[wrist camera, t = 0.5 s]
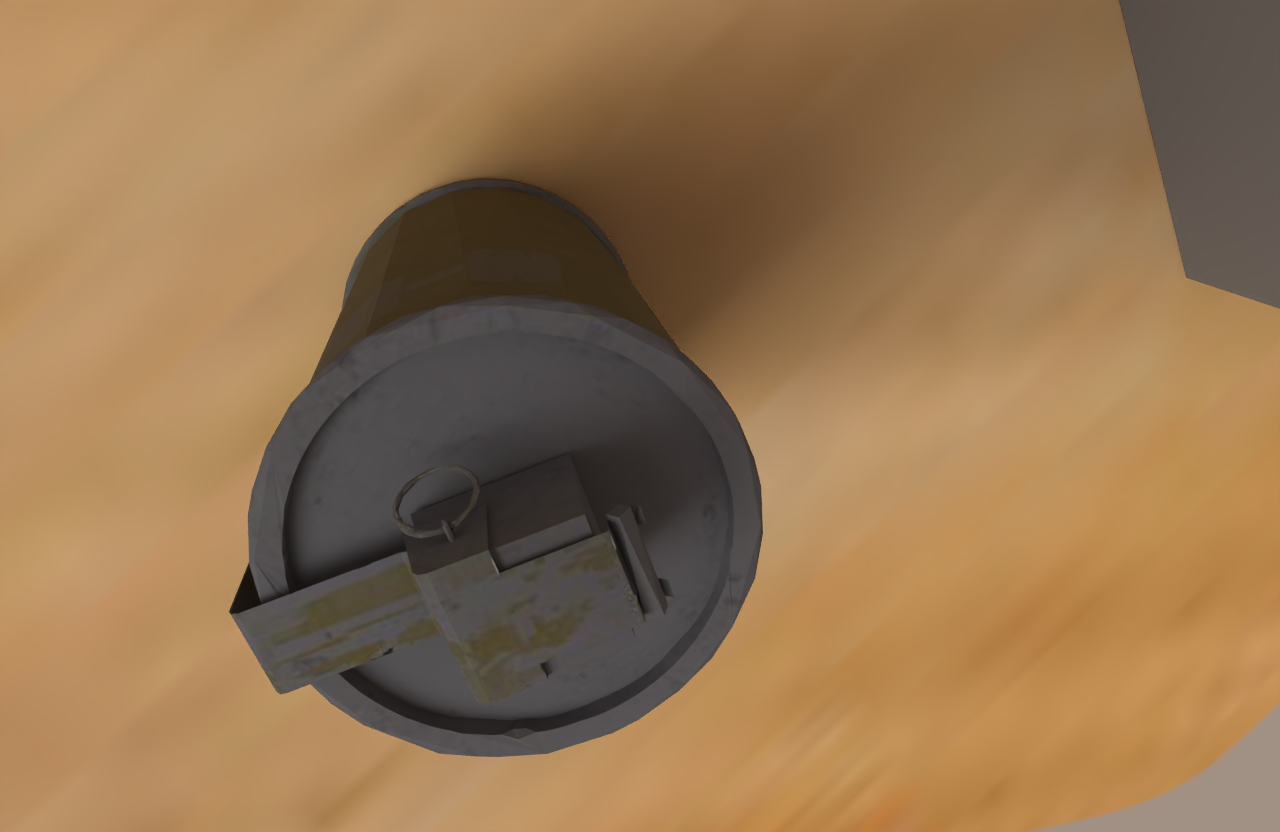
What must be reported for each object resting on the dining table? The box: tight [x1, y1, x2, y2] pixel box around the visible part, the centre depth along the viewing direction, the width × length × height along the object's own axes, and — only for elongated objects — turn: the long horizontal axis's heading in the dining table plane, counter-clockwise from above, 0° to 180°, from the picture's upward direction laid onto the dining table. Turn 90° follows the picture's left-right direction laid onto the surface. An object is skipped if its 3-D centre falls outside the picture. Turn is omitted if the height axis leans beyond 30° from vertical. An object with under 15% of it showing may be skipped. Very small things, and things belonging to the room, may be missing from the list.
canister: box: [229, 179, 763, 757], centre depth 27 cm, size 11×10×20 cm
